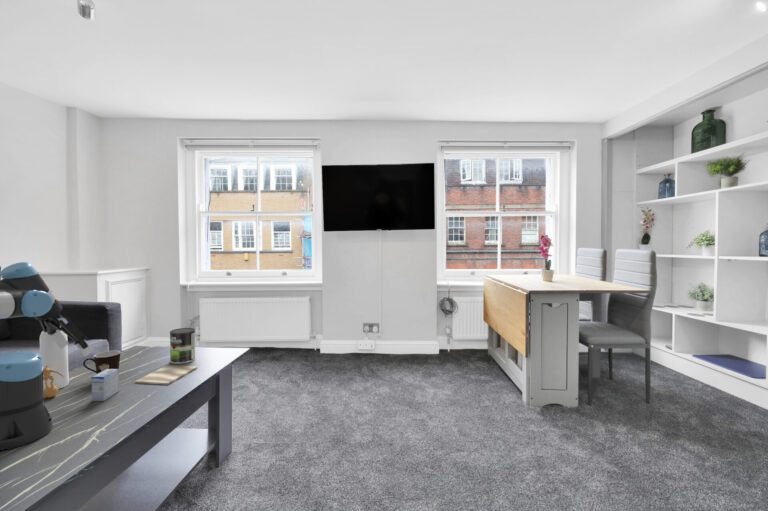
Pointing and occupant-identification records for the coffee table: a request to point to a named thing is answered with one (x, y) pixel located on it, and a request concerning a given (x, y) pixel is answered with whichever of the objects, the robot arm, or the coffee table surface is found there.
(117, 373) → the medicine box
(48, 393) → the figurine
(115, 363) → the coffee mug
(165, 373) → the birch board
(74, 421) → the coffee table surface
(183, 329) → the coffee can
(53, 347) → the bottle
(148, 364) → the coffee table surface
